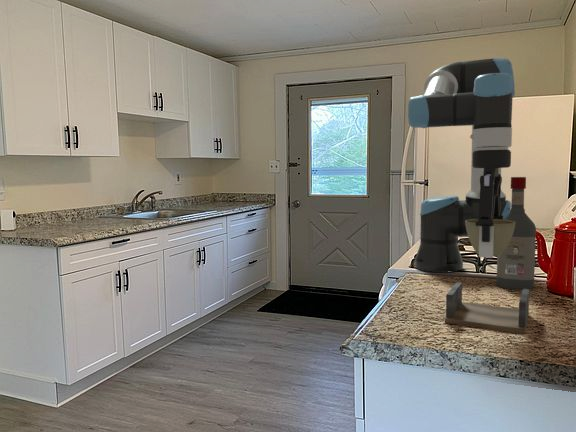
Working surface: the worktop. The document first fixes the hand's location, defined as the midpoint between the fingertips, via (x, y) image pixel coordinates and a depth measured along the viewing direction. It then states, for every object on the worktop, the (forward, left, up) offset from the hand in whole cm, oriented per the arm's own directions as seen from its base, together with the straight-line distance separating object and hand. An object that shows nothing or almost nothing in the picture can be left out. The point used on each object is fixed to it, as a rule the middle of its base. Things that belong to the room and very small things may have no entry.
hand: (489, 252), depth 103 cm
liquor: (-33, +3, -15) cm, 36 cm away
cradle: (0, 0, -15) cm, 15 cm away
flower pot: (0, 0, 0) cm, 0 cm away
